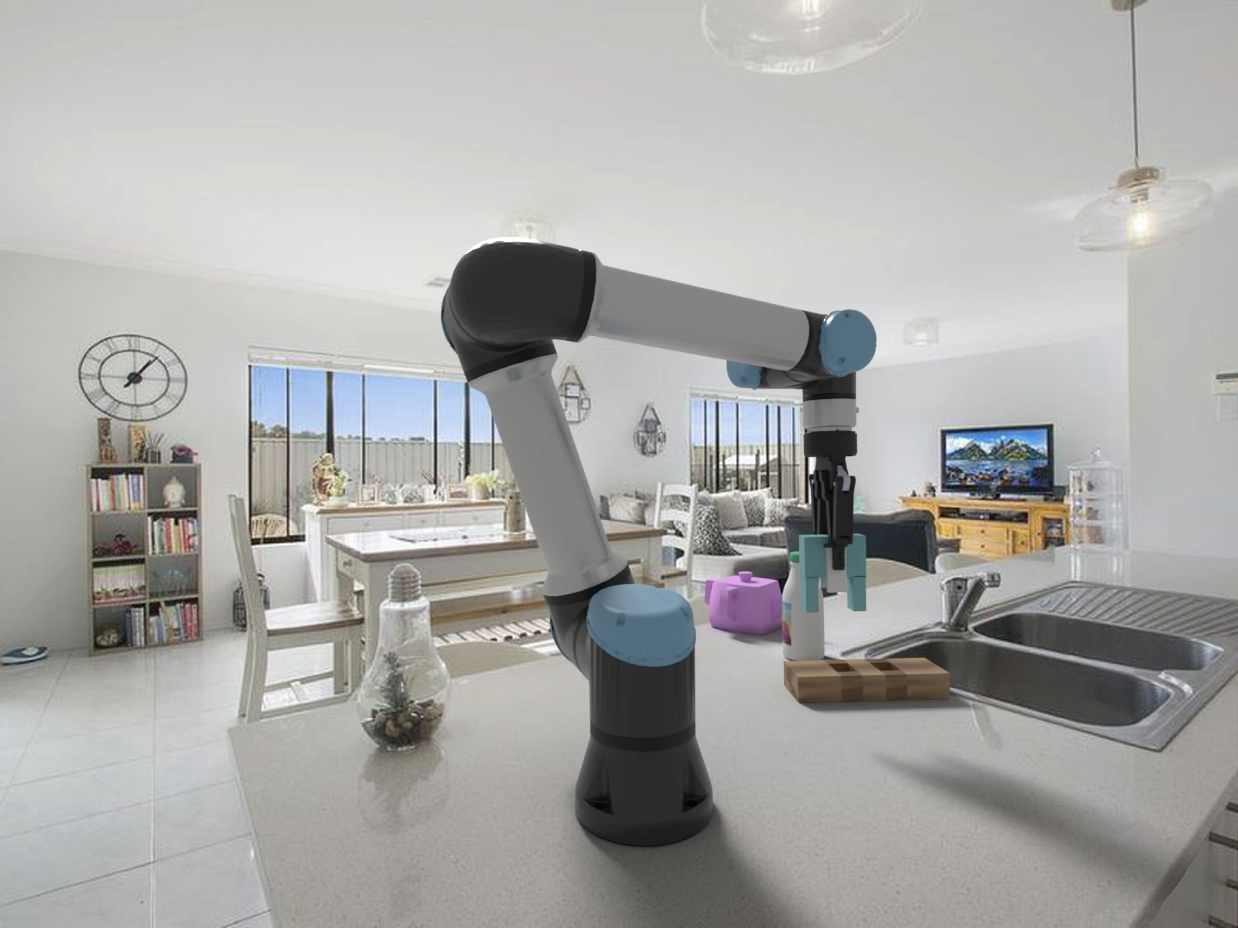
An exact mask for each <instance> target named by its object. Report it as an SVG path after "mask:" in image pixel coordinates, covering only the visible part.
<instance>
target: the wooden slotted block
mask: <svg viewBox="0 0 1238 928" xmlns="http://www.w3.org/2000/svg"><path fill="white" fill-rule="evenodd" d="M783 685H784V687H785V688H786V689H787V690H788V691H789V693H790V695H792V697H793V698H794V699H795V700H796V702H798V703H830V702H831V703H834V702H835V703H836V702H837V703H838V702H840V703H841V702H868V701H869V702H873V701H874V702H876V701H877V702H879V701H910V700H911V701H912V700H913V701H914V700H915V701H916V700H917V701H918V700H950V699H951V673H950V672H949V671H947V670H945V669H944V668H942V667H940V666H939V665H937V664H935V662H934V663H933V662H932V661H931V660H929V659H927V658H925V657H904V658H903V657H900V658H899V657H898V658H869V659H868V658H858V659H822V660H808V661H795V660H783Z"/></svg>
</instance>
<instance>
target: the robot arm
mask: <svg viewBox="0 0 1238 928" xmlns="http://www.w3.org/2000/svg"><path fill="white" fill-rule="evenodd" d="M449 282H450V283H449V285H448V287H447V289H446V291H445V293H444V295H443V298H442V301H441V307H440V309H441V310H440V323H441V328H442V331H443V334H444V337H445V340H446V342H447V343H448V344H449V347H450V348H451V349H452V350H453V351H454V352H455V354H456V355H457V358H458V360H459V362H460V365H461V369H462V371H463V374H464V376H465V379H466V382H467V385H468V386H469V387H471V388H472V389H474V390H476V391H477V392H479V393H481V394H483V395H484V396H485V399H486V402H487V405H488V407H489V409H490V412H491V416H492V418H493V421H494V424H495V427H496V429H497V432H498V436H499V437H500V440H501V444H502V447H503V449H504V452H505V455H506V458H507V461H508V464H509V466H510V469H511V471H512V474H513V478H514V481H515V483H516V485H517V488H518V491H519V495H520V496H521V500H522V503H523V506H524V509H525V511H526V514H527V517H528V519H529V522H530V525H531V528H532V531H533V534H534V536H535V539H536V542H537V545H538V547H539V551H540V554H541V556H542V560H543V562H544V565H545V568H546V570H547V576H546V578H545V580H544V583H543V584H542V586H541V593H542V595H543V597H544V601H545V604H546V607H547V609H548V612H549V618H548V619H549V628H550V633H551V636H552V639H553V642H554V644H555V645H556V647H557V649H558V651H559V652H560V653H561V654H562V656H563V657H565V659H566V660H568V661H569V662H570V663H571V664H572V665H574V667H576V669H577V670H578V671H579V672H580V673H581V674H582V675H583V676H584V678H585V679H586V680H587V681H588V685H589V687H588V688H589V690H588V691H589V694H588V695H589V726H590V727H589V741H588V743H587V747H586V751H585V753H584V756H583V760H582V763H581V766H580V767H581V768H580V770H579V772H578V773H579V774H578V777H577V780H576V784H575V789H574V798H575V799H574V802H575V803H574V805H575V807H574V809H575V816H576V817H577V819H578V822H579V823H580V824H581V825H582V826H583V827H585V829H587V830H588V831H589V832H590V833H592V834H594V835H595V836H598V837H600V838H602V839H604V840H606V841H607V840H608V841H611V842H614V843H618V844H624V845H629V846H630V845H632V846H659V845H667V844H671V843H675V842H679V841H683V840H685V839H687V838H689V837H691V836H693V835H695V834H697V833H699V832H701V830H703V829H704V828H705V827H707V825H708V824H709V822H710V821H711V819H712V818H713V817H712V816H713V813H714V797H713V796H714V792H713V791H714V790H713V785H712V781H711V779H710V776H709V773H708V770H707V767H706V763H705V760H704V757H703V754H702V751H701V749H700V745H699V742H698V739H697V734H696V728H697V727H696V726H697V725H696V640H697V630H696V626H695V621H694V620H695V618H694V612H693V608H692V606H691V604H690V602H689V601H688V600H687V599H686V598H685V597H684V596H683V595H681V593H678V592H676V591H674V590H672V589H670V588H665V587H656V586H655V585H653V584H652V585H651V584H642V583H640V584H639V583H635V580H634V577H633V574H632V571H631V568H630V565H629V563H628V560H627V558H626V557H625V556H623V555H621V554H619V553H616V552H614V551H613V550H612V548H611V545H610V543H609V540H608V537H607V536H608V535H607V534H606V530H605V528H604V526H603V521H602V519H601V516H600V513H599V511H598V510H599V509H598V508H597V505H596V501H595V499H594V495H593V493H592V489H591V487H590V485H589V481H588V478H587V476H586V475H587V474H586V472H585V469H584V466H583V463H582V461H581V457H580V455H579V452H578V449H577V445H576V443H575V439H574V437H573V434H572V432H571V428H570V425H569V422H568V418H567V416H566V414H565V410H564V407H563V405H562V402H561V398H560V396H559V393H558V391H557V387H556V385H555V380H554V378H553V375H552V373H553V369H554V367H555V364H556V363H557V361H558V358H559V356H558V352H557V349H556V346H555V343H554V341H553V340H557V341H558V340H559V341H564V342H565V341H566V342H570V343H571V342H572V343H577V344H579V343H582V342H583V341H585V339H587V338H588V337H597V338H602V339H608V340H613V341H619V342H624V343H631V344H636V345H641V346H645V347H646V346H647V347H653V348H658V349H664V350H668V351H673V352H679V353H685V354H691V355H696V356H700V357H701V356H702V357H707V358H712V359H713V358H714V359H717V360H722V361H723V360H724V361H725V362H726V374H727V377H728V379H729V380H730V382H731V384H733V386H735V387H737V388H740V389H750V390H754V391H756V390H801V392H802V428H803V429H806V431H807V432H804V434H803V436H802V437H803V455H804V456H805V457H806V458H815V466H814V470H813V473H809V474H808V481H809V488H810V503H811V504H810V505H811V506H810V507H811V523H812V527H811V528H812V535H824V534H828V544H823V545H824V548H826V578H818V583H819V587H820V588H821V589H826V592H827V593H829V594H830V593H831V594H832V593H847V572H846V547H847V546H848V544H852V543H853V534H854V506H855V505H854V504H855V499H854V498H855V489H856V488H855V487H856V482H857V478H856V476H855V475H849V474H850V473H849V470H848V466H847V465H848V464H847V461H846V458H847V457H856V456H857V454H858V433H856V431H855V430H853V428H855V427H856V426H857V414H858V413H859V412H860V408H859V407H858V406H857V372H859V371H862V370H863V369H865V368H866V367H867V366H868V365H869V364H870V363H871V362H872V360H873V358H874V357H875V354H876V351H877V350H876V349H877V346H878V345H877V341H878V340H877V337H878V336H877V333H876V329H875V326H874V324H873V322H872V321H871V319H869V318H868V316H867V315H865V314H864V313H863V312H861V311H859V310H857V309H850V308H847V309H843V310H833V311H830V312H829V313H828V314H825V313H823V314H822V313H818V312H814V311H808V310H805V309H800V308H799V309H797V308H793V307H789V306H784V305H780V304H775V303H771V302H767V301H766V302H765V301H763V300H760V299H759V300H757V299H753V298H749V297H745V296H741V295H735V294H732V293H727V292H722V291H718V290H716V289H715V290H714V289H710V288H706V287H701V286H697V285H692V284H687V283H683V282H678V281H674V280H670V279H666V278H661V277H656V276H652V275H648V274H644V273H639V272H634V271H630V270H626V269H622V268H618V267H613V266H608V265H604V264H603V263H602V262H601V260H600V258H599V257H598V255H597V254H596V253H595V252H592V251H587V250H583V249H579V248H574V247H570V246H567V245H566V246H565V245H562V244H556V243H551V242H548V241H547V242H546V241H543V240H536V239H529V238H523V237H522V238H521V237H497V238H491V239H488V240H486V241H481V242H480V243H478V244H477V245H474V246H472V247H471V248H470V249H469V250H468V251H466V252H465V253H464V254H463V255H462V256H461V258H460V259H459V260H458V262H457V263H456V264H455V267H454V269H453V272H452V275H451V277H450V281H449Z"/></svg>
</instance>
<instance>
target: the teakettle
mask: <svg viewBox="0 0 1238 928" xmlns="http://www.w3.org/2000/svg"><path fill="white" fill-rule="evenodd" d="M753 575H754V573H753V572H752V571H747V570H746V571H739V572H738V575H730V576H727V577H723V578H709V579H705V590H704V601H703V602H704V603H706V605H708V620H709V623H710V626H711V627H713V628H715V627H717V628H716V629H720V630H724V631H729V632H735V633H741V634H749V635H756V636H757V635H758V636H761V635H765V634H768V633H771V632H772V631H774V630H777V629H778V628H780V627H782V599H783V592H781V588H780V584H779V581H778V580H777V579H770V578H765V577H764V578H763V577H755V576H753Z"/></svg>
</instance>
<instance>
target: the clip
mask: <svg viewBox="0 0 1238 928" xmlns="http://www.w3.org/2000/svg"><path fill="white" fill-rule="evenodd" d="M823 544H828V534H824V535H813V534H799V535H798V551H799V565H800V583H801V609H802V610H803V611H805V612H806V613H814V612H819V606H818V583H819V578H826V548H824V545H823ZM846 572H847V592H846V594H847V595H846V596H847V597H846V599H847V606H846V607H847V608H848V609H850V610H851V611H852V612H867V538H866V535H865V534H861V533H853V543H852V544H848V546H847V547H846Z"/></svg>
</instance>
